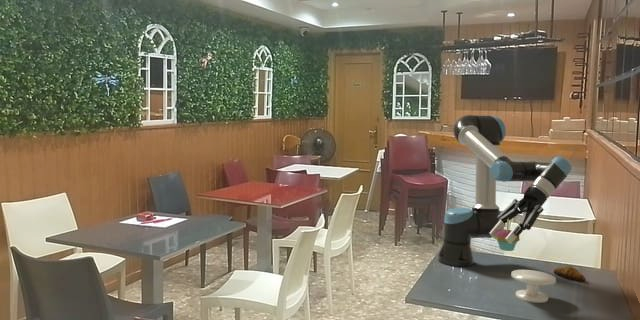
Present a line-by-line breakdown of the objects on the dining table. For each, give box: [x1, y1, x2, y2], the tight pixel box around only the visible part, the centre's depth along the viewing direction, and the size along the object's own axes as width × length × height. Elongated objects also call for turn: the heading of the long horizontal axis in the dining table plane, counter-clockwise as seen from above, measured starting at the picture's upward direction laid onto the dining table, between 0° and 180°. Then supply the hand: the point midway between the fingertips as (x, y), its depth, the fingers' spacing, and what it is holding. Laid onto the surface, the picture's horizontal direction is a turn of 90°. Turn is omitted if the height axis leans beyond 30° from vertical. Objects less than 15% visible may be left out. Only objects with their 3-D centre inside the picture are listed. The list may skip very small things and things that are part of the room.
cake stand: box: [511, 269, 557, 304], centre depth 197 cm, size 15×15×8 cm
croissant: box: [553, 265, 586, 283], centre depth 224 cm, size 14×7×5 cm, turn 33°
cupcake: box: [494, 218, 520, 252], centre depth 196 cm, size 9×8×12 cm
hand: (499, 238), depth 195 cm, fingers closed on cupcake, 8 cm apart
